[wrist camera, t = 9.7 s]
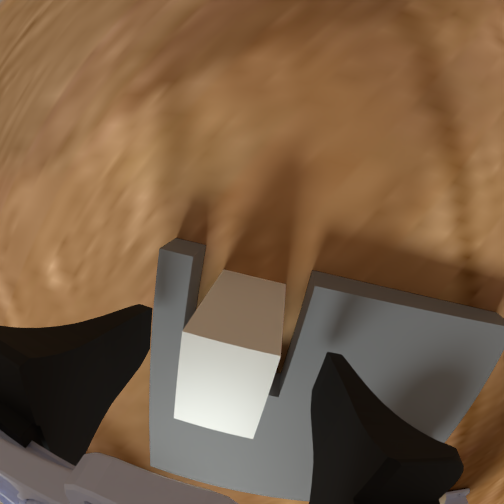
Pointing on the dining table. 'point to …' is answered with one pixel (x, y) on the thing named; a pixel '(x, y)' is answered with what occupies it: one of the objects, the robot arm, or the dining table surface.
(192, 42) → the dining table surface
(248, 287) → the block
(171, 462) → the board
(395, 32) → the dining table surface
